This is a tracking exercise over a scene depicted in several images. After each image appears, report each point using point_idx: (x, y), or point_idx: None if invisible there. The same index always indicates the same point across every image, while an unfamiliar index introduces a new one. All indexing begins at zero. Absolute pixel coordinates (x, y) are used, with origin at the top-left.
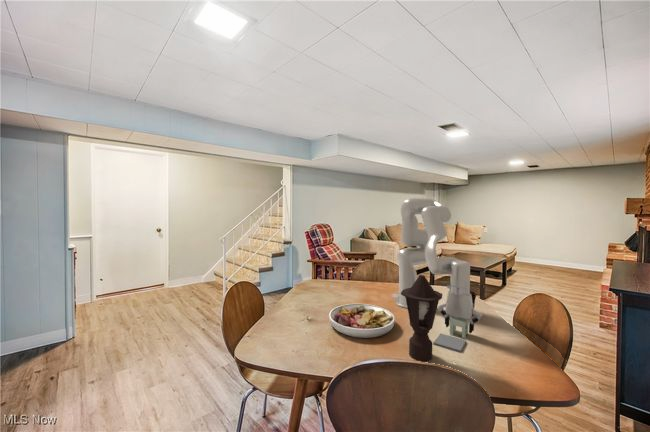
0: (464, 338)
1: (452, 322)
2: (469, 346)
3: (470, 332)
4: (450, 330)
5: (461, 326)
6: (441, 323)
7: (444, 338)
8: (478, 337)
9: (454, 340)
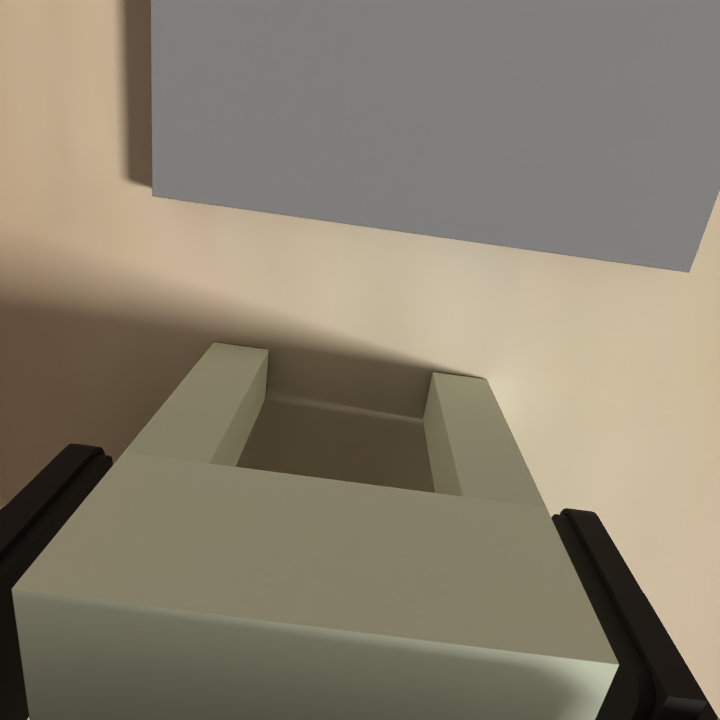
0: (221, 345)
1: (488, 553)
2: (68, 12)
3: (72, 452)
4: (489, 419)
5: (218, 476)
6: None
7: (614, 11)
8: None
9: (378, 35)
